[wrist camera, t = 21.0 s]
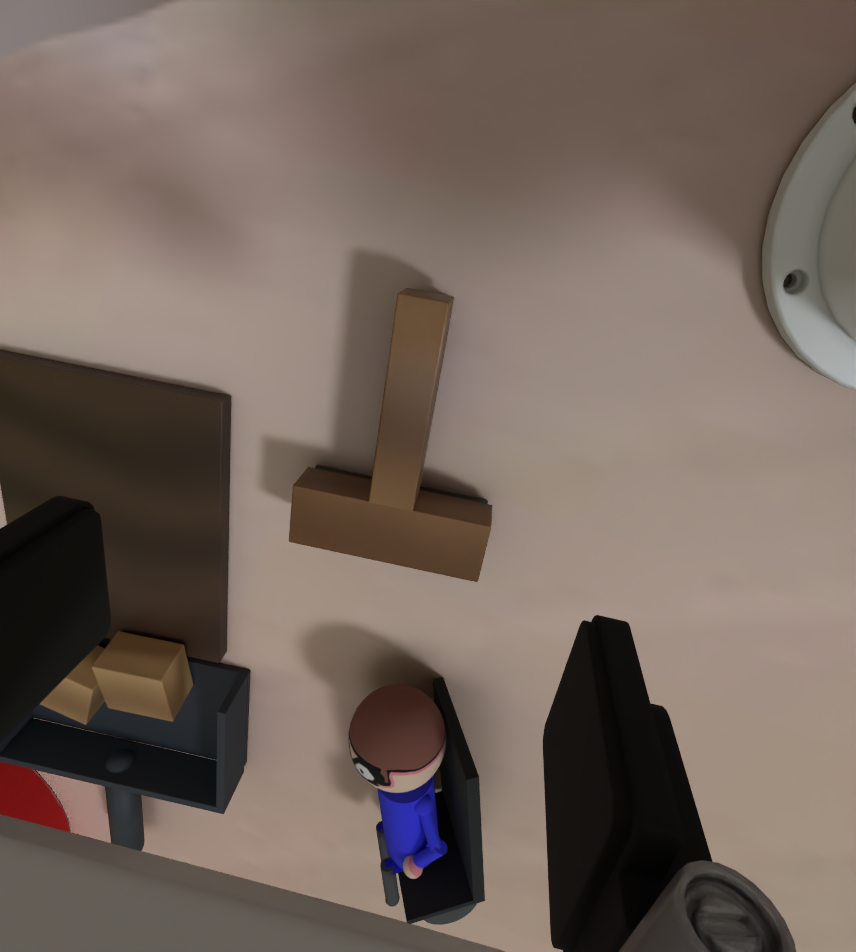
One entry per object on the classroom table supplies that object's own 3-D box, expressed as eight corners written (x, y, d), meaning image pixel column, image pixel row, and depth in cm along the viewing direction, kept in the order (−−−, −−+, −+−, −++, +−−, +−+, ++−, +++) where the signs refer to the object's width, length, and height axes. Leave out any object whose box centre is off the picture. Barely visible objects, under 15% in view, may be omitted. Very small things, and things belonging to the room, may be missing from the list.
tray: (-6, 348, 28) (-23, 352, 27) (231, 395, 27) (222, 401, 26) (35, 609, 35) (23, 620, 34) (226, 651, 34) (219, 663, 33)
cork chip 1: (57, 626, 34) (24, 659, 31) (121, 655, 34) (92, 690, 32) (53, 663, 36) (22, 696, 34) (113, 690, 36) (85, 725, 34)
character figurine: (388, 820, 39) (369, 642, 33) (495, 838, 37) (496, 655, 32) (350, 951, 32) (318, 754, 26) (481, 980, 30) (478, 778, 24)
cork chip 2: (117, 630, 33) (90, 667, 31) (184, 643, 33) (161, 681, 31) (131, 671, 35) (107, 708, 33) (194, 684, 35) (173, 722, 33)
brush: (330, 268, 24) (306, 275, 22) (538, 308, 24) (542, 320, 21) (308, 512, 29) (286, 544, 27) (480, 549, 29) (477, 585, 26)
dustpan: (14, 617, 35) (-33, 655, 32) (250, 669, 34) (225, 714, 31) (47, 804, 42) (12, 850, 39) (243, 850, 42) (221, 900, 39)
